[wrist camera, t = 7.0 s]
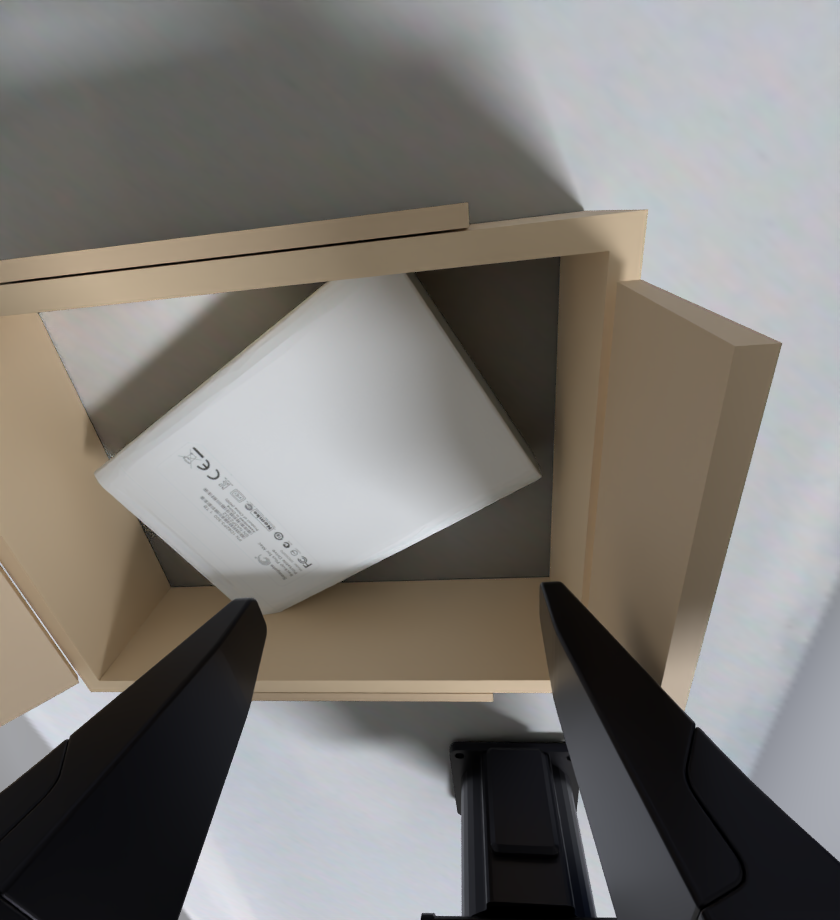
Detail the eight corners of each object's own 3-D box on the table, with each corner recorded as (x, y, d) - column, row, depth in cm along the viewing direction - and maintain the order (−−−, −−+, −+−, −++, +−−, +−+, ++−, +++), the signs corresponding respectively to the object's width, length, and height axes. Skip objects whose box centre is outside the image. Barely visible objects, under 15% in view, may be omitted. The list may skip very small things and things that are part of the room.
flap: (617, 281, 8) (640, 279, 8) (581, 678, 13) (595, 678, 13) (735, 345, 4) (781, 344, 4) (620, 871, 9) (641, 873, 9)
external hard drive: (536, 456, 15) (273, 598, 19) (390, 233, 12) (117, 454, 16) (544, 481, 14) (258, 629, 18) (380, 235, 11) (84, 477, 15)
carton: (564, 596, 18) (592, 701, 14) (167, 605, 20) (96, 699, 16) (586, 190, 12) (651, 179, 8) (-5, 263, 14) (-193, 284, 10)
